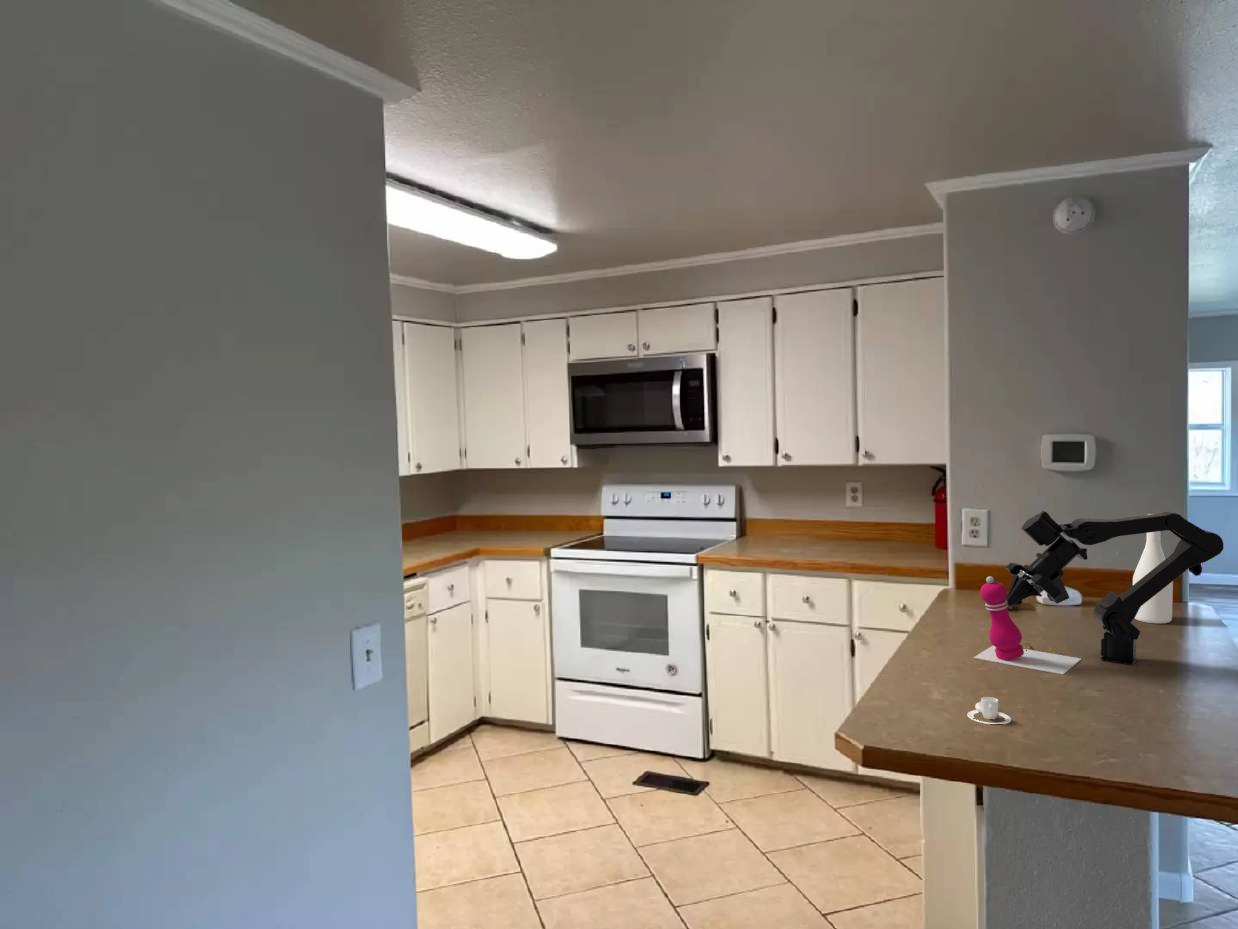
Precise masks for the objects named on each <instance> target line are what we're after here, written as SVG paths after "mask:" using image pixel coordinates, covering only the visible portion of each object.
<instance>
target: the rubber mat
mask: <svg viewBox="0 0 1238 929" xmlns="http://www.w3.org/2000/svg"><path fill="white" fill-rule="evenodd" d="M995 649H996V647H995V646H993V645H991V646H990V647H988V648H986V649H985V650H983V651H982V652H980V653H979V654H977V655H976V656H975V655H974V657H973V659H975V660H982V661H987V662H992V663H997V662H998V663H997V664H1002V663H1003V664H1004V665H1009V666H1013V667H1020V668H1025V669H1031V670H1035V671H1042V672H1047V673H1052V674H1058V675H1065V674H1066V673H1067V672H1069V671H1070V670H1071V669H1072V668H1073V667H1074V666H1075V665H1076V664H1078V663H1079V662H1080V661H1082V658H1080V657H1074V656H1068V655H1061V654H1057V653H1051V652H1044V651H1039V650H1034V649H1026V648H1023V651H1024V654H1023V655H1022V656H1021V657H1018V658H1015V659H1009V660H1003V659H999V658H997V656H996V653H995ZM1026 650H1027V651H1026ZM1003 664H1002V665H1003Z"/></svg>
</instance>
